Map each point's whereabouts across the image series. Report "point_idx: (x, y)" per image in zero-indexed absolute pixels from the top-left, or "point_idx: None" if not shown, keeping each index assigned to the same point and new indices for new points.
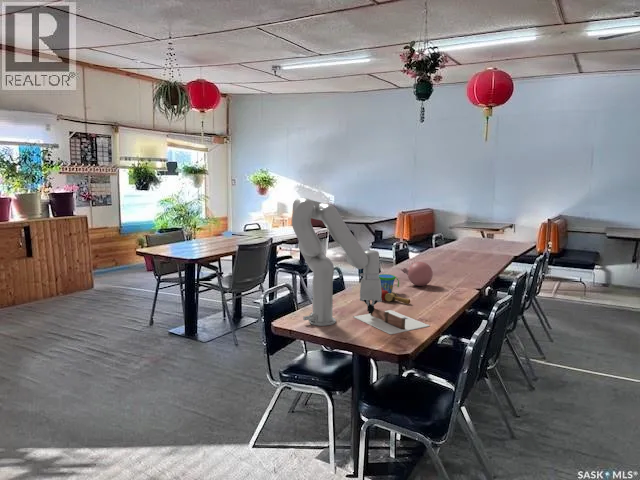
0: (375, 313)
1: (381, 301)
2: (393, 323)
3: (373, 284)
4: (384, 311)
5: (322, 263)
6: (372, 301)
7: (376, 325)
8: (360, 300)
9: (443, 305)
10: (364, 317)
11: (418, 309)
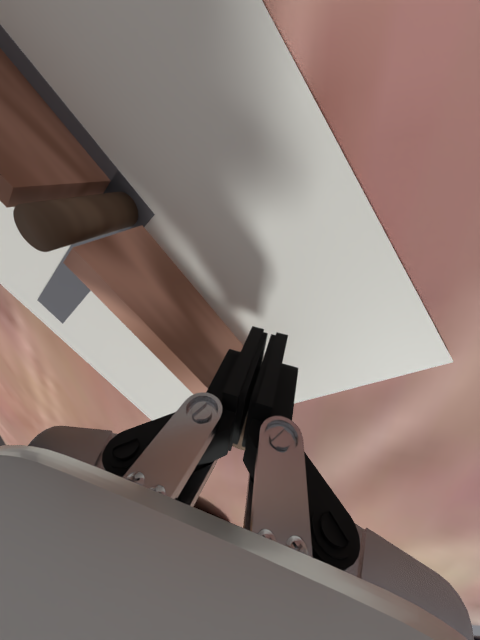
0: (222, 349)
1: (47, 430)
2: (15, 85)
3: None
4: (90, 288)
5: None
6: (179, 466)
7: (195, 2)
8: (441, 578)
9: (33, 437)
10: (332, 331)
11: (76, 422)
